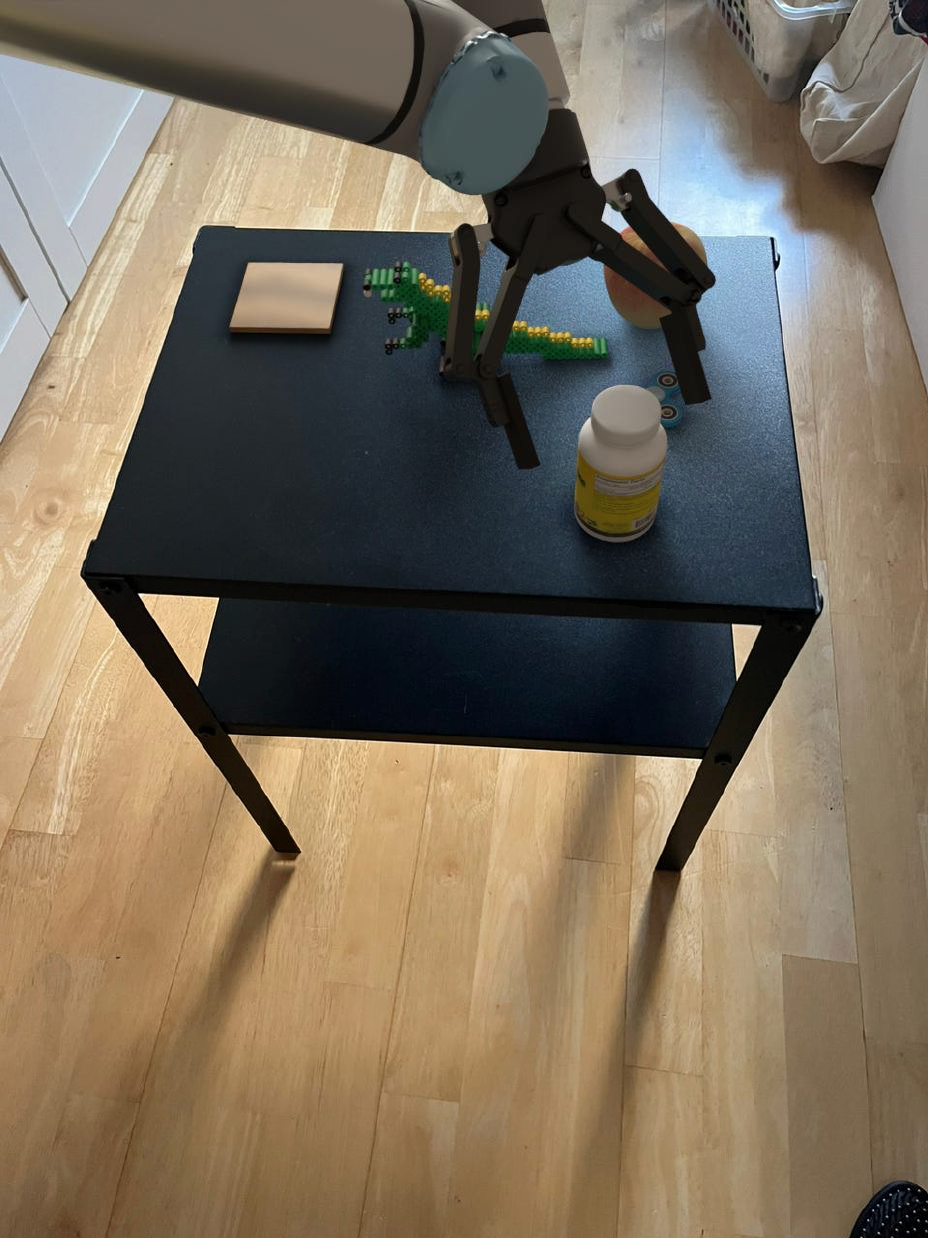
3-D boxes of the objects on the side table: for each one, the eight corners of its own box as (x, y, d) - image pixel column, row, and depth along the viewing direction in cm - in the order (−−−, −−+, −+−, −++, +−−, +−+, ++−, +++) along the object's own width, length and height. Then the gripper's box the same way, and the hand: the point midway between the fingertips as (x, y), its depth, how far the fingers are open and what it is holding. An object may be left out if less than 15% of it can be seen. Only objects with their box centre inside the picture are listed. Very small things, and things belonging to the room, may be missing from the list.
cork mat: (330, 333, 92) (329, 328, 91) (230, 332, 92) (229, 326, 92) (344, 268, 97) (343, 263, 96) (249, 267, 97) (248, 262, 97)
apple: (609, 350, 89) (617, 272, 82) (592, 284, 94) (598, 205, 87) (710, 340, 89) (726, 261, 82) (688, 274, 94) (701, 195, 87)
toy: (613, 373, 87) (614, 364, 86) (681, 377, 87) (683, 368, 86) (610, 426, 84) (611, 417, 83) (681, 430, 83) (682, 421, 82)
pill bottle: (582, 476, 81) (590, 369, 72) (661, 490, 80) (680, 383, 71) (565, 537, 78) (571, 432, 69) (647, 553, 77) (665, 448, 67)
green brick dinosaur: (605, 328, 91) (613, 241, 83) (609, 374, 87) (617, 288, 80) (377, 332, 92) (365, 247, 84) (372, 378, 88) (359, 293, 81)
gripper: (657, 95, 75) (738, 381, 79) (335, 196, 70) (441, 495, 74) (708, 54, 68) (794, 371, 72) (353, 164, 63) (470, 497, 67)
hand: (615, 434), depth 73 cm, fingers open, 13 cm apart
